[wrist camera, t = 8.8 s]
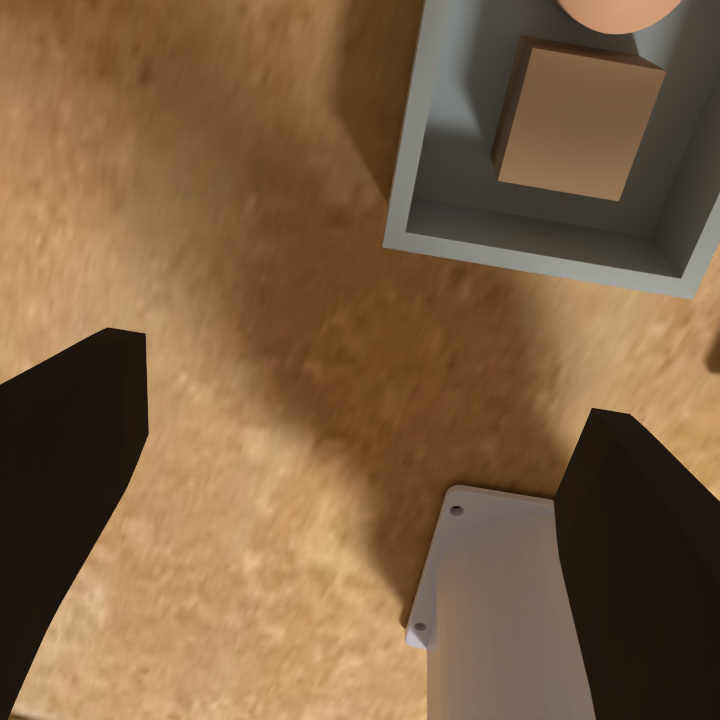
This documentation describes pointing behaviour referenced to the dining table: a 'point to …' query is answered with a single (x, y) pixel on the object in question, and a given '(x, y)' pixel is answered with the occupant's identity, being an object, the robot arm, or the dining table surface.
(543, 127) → the walnut block
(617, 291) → the dining table surface
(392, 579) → the dining table surface
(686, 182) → the box
